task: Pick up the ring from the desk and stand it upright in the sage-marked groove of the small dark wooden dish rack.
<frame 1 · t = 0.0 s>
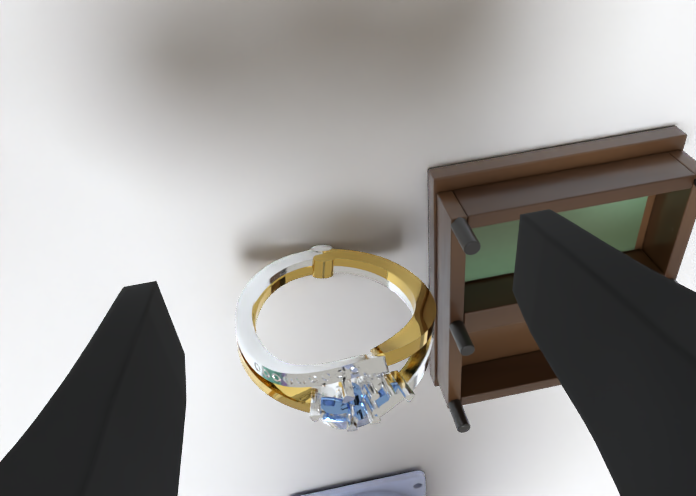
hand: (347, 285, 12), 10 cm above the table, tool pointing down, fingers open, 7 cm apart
ring: (319, 250, 24), on the table
rack: (537, 265, 27), on the table
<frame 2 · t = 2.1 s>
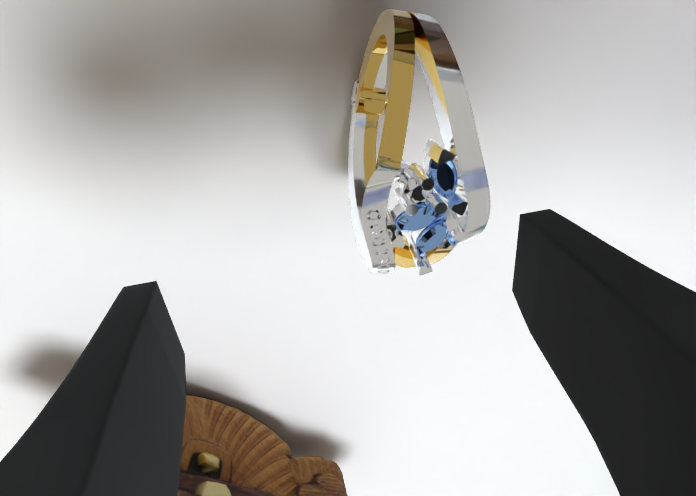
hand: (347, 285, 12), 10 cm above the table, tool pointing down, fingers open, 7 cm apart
wooden carving: (210, 413, 28), on the table
ring: (363, 88, 20), on the table
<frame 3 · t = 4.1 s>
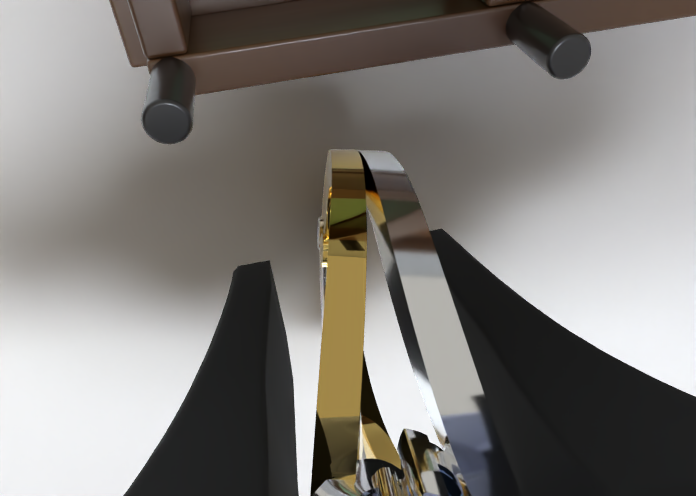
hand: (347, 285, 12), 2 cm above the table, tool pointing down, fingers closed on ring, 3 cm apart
ring: (334, 222, 14), on the table, touching gripper
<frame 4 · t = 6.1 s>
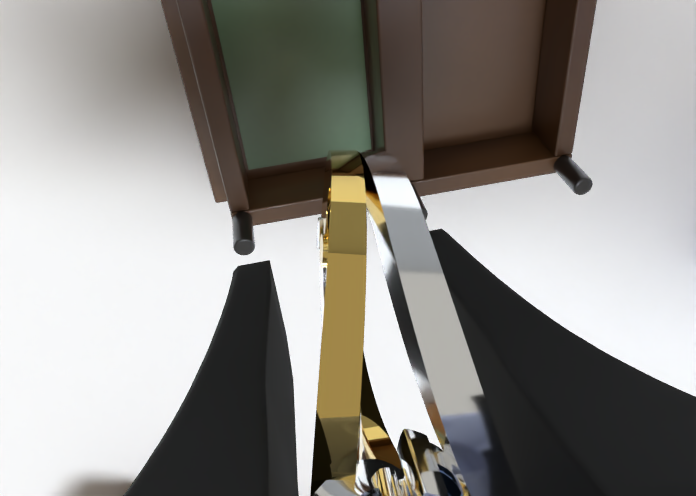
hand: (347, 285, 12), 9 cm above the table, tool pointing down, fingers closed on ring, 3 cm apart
ring: (334, 222, 14), point 7 cm above the table, touching gripper
rack: (379, 15, 18), on the table
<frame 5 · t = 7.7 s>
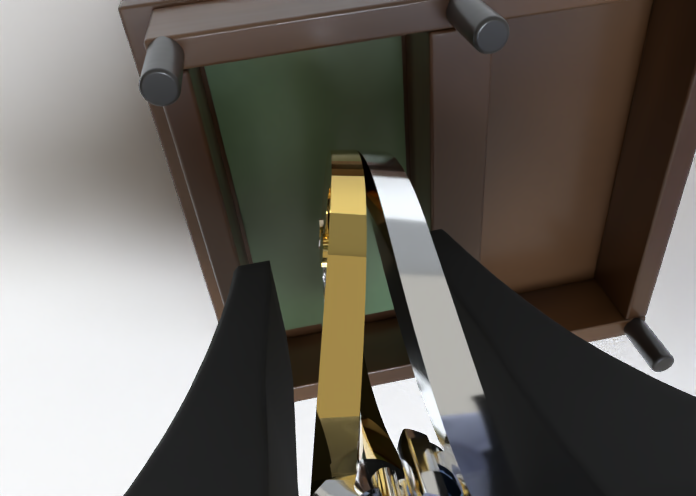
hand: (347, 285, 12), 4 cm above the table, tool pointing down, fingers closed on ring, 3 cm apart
ring: (334, 222, 14), point 2 cm above the table, touching gripper
rack: (425, 166, 15), on the table
when the fingers open (3 cm above the table, at t = 8.4 s): ring stays where it is, resting on rack.
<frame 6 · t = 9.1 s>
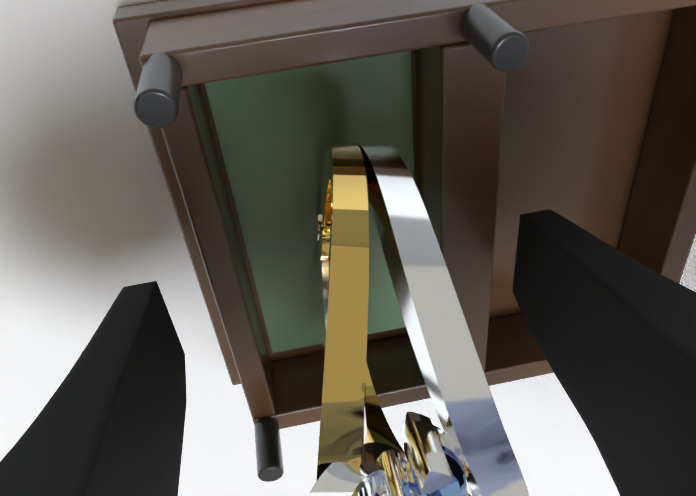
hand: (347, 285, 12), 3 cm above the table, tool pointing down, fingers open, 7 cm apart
ring: (332, 216, 14), point 1 cm above the table, touching rack
rack: (433, 181, 15), on the table
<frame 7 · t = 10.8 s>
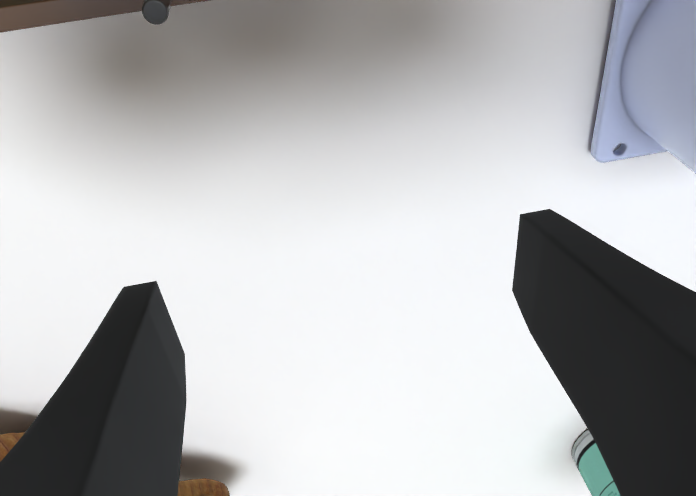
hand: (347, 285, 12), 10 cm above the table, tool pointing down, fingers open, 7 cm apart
spray can: (612, 437, 37), on the table
wooden carving: (90, 445, 30), on the table
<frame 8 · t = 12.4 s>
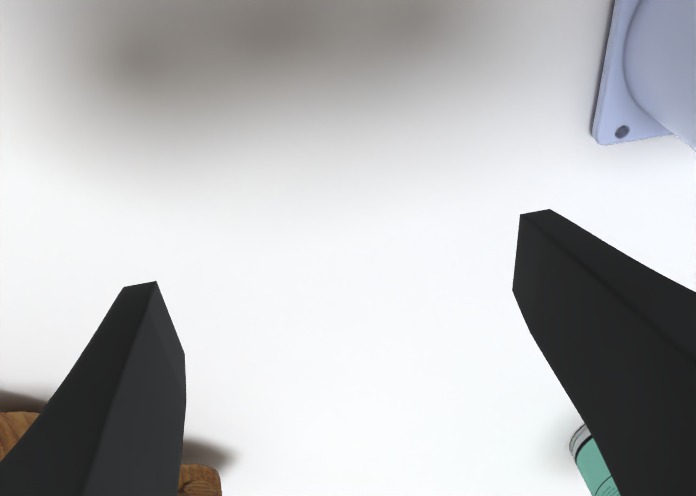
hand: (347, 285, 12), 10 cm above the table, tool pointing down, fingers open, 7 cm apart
spray can: (611, 432, 37), on the table
wooden carving: (80, 427, 29), on the table
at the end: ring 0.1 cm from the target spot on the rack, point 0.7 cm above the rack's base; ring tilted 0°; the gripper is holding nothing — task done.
